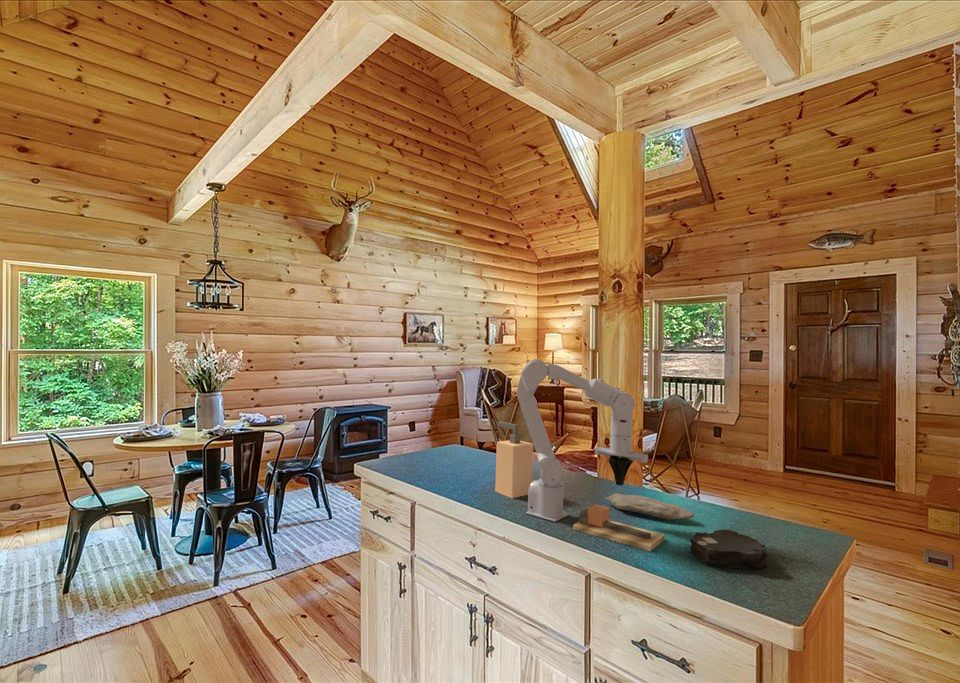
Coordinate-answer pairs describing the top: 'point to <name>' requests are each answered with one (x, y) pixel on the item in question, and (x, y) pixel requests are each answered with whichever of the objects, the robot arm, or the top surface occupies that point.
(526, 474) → the soap dispenser
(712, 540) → the rock sample
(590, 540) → the top surface
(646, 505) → the stone tool
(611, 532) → the rail board
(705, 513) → the top surface
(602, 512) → the slider block
